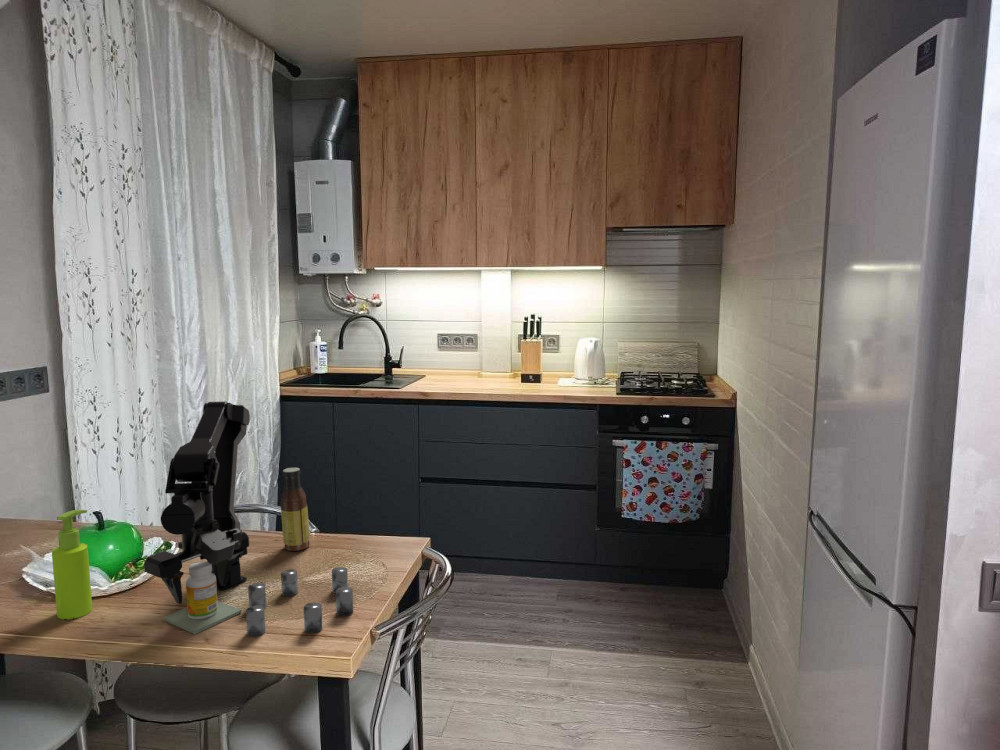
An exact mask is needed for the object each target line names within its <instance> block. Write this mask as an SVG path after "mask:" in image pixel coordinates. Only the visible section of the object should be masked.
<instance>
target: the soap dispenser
mask: <svg viewBox="0 0 1000 750" xmlns="http://www.w3.org/2000/svg"><path fill="white" fill-rule="evenodd" d="M87 513H88V509H74V510H73V509H72V510H70V511H67V512H64V513H62V514H60V515H58V516H56V519H57V520H58V521H61V523H62V529H61V530H59V531H58V533H57V537H58V538H57V539H58V546H57V547H55V548H54V549H52V551H51V559H52V561H51V562H52V572H53V582H54V583H53V584H54V595H55V596H54V597H55V605H56V607H55V608H56V617H57V618H58V619H59V618H60V619H59V620H64V619H67V620H75V619H79V618H81V617H84V616H86V615H88V614H90V613H91V612H92V610H93V599H92V587H91V586H92V585H91V575H90V564H89V563H90V560H89V551H88V550H89V549H88V544H86V543H83V542H80V530H79V529H78V528H76V527H74V519H73V518H74V517H76V516H79V515H81V514H87ZM73 618H74V619H73Z"/></svg>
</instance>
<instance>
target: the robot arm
mask: <svg viewBox="0 0 1000 750" xmlns="http://www.w3.org/2000/svg"><path fill="white" fill-rule="evenodd" d="M250 422H251V418H250V411H249V409H247V408H246V407H245V406H244V405H243V404H233V403H231V402H228V401H208V402H205V403H204V404H203V409H202V415H201V417H200V420H199V422H198V424H197V426H196V429H195V430H194V433H193V435H192V437H191V438H190V439H191V440H190V441H188V442H187V443H185V444H183V445H181V446H180V447H179V448H178V450H177V451H176V452H175V454H174V456H173V458H171V460H170V464H169V468H168V474H167V481H166V485H165V486H166V487H165V494H173V496H171V503H169V504H168V505H167V506H166V507H165V508H164V509H163V510H162V512H161V515H160V524H161V526H162V528H163V529H164V530H165V531H166V532H168V533H169V534H172V535H176V536H178V535H179V536H180V535H181V541H179V542H177V544H178V545H177V546H178V549H180V550H182V551H181V552H178V553H172V552H169V551H166V550H164V551H160V552H157V553H155V554H152V555H148V556H146V559H145V560H144V562H143V567H144V568H143V570H144V572H145V573H146V574H149V575H152V576H154V577H157V578H159V579H161V580H162V581H163V583H165V586H166V587H167V589H168V591H169V592H170V594H171V596H172V597H173V599H174V601H175V602H176V604H178V605H181V604H182V603H183V591H182V590H183V589H182V577H183V575H184V573H185V572H183V571H181V570H182V568H183V563H185V562H188V561H190V560H194V559H196V558H199V560H200V561H201V560H202V561H203V560H206V562H208V563H210V564H212V571H211V573H213V574H215V576H216V585H217V591H224V590H226V589H229V588H232V587H233V586H237V585H238V584H241V583H243V582H246V581H247V577H246V576H243V575H242V572H241V571H242V569H241V563H240V559H241V558H242V557H243V556H246V555H248V548H249V546H250V537H249V536H248V535H249V534H248V533H247V532H244V531H243V530H242V529H241V522H240V519H239V518H238V516H237V515H236V513H235V511H234V508H235V504H234V503H235V494H236V493H235V491H236V478H237V477H236V476H237V463H238V448H239V445H240V443H241V441H242V440H243V439H244V438H245V436H246V435H247V428H248V426H249V424H250Z"/></svg>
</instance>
